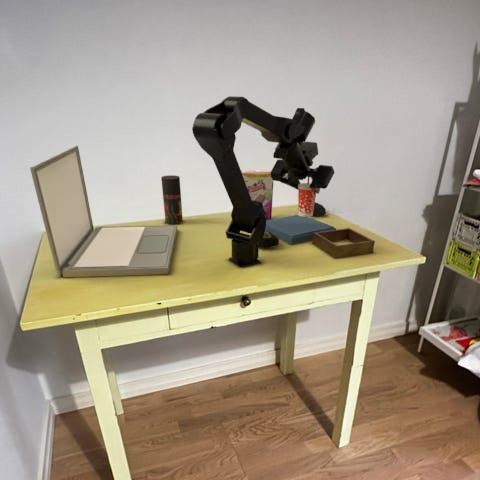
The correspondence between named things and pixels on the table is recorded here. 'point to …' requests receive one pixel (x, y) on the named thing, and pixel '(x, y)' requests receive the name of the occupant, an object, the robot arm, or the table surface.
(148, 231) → the laptop
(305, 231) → the blue square platform
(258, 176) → the candy bar box
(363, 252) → the open box
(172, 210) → the deodorant
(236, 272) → the table surface
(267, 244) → the tape measure
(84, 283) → the table surface
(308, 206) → the beverage cup
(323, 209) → the gaming mouse
